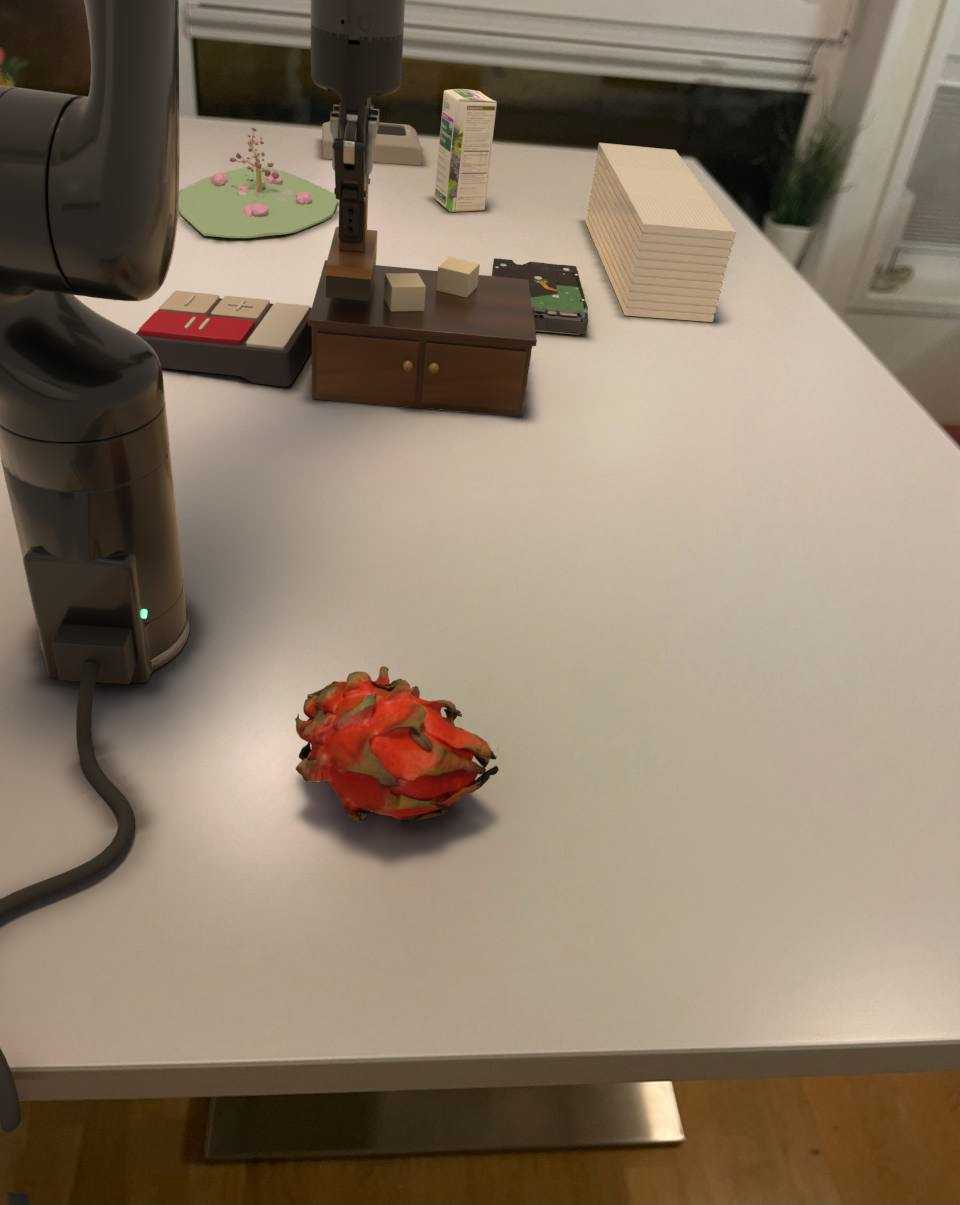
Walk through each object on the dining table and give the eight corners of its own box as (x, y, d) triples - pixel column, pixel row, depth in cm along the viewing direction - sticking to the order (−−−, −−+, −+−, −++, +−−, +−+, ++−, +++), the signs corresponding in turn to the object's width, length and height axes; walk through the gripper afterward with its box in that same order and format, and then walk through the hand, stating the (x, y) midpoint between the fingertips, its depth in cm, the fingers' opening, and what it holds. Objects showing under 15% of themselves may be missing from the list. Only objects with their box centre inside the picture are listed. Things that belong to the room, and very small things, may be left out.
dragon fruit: (286, 771, 62) (471, 836, 62) (250, 805, 54) (464, 880, 53) (330, 640, 62) (517, 705, 61) (301, 654, 53) (517, 729, 53)
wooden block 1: (424, 311, 94) (426, 286, 93) (390, 311, 94) (391, 286, 92) (416, 297, 97) (418, 272, 95) (383, 297, 96) (384, 273, 94)
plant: (331, 249, 126) (332, 173, 120) (160, 235, 123) (153, 157, 118) (339, 186, 145) (341, 118, 140) (192, 173, 143) (187, 104, 137)
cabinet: (525, 422, 96) (537, 343, 91) (307, 403, 95) (307, 322, 90) (518, 352, 108) (528, 279, 103) (324, 334, 107) (325, 259, 102)
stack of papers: (712, 322, 120) (736, 231, 114) (624, 315, 119) (643, 223, 112) (658, 229, 145) (675, 149, 138) (585, 222, 144) (598, 142, 137)
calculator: (171, 285, 103) (316, 300, 102) (177, 326, 106) (318, 340, 105) (129, 329, 95) (287, 345, 94) (137, 371, 97) (290, 387, 97)
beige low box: (322, 115, 160) (417, 123, 162) (322, 140, 162) (415, 147, 164) (323, 132, 152) (422, 140, 155) (323, 158, 155) (421, 165, 157)
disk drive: (489, 280, 124) (495, 329, 112) (491, 257, 122) (498, 305, 110) (572, 287, 125) (588, 337, 113) (576, 264, 123) (592, 312, 111)
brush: (370, 301, 92) (373, 199, 86) (325, 297, 92) (326, 195, 86) (376, 261, 100) (380, 165, 94) (335, 257, 99) (336, 161, 94)
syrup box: (432, 199, 145) (440, 88, 136) (470, 197, 147) (480, 88, 138) (448, 212, 141) (458, 99, 132) (486, 211, 143) (498, 99, 134)
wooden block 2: (466, 298, 98) (469, 273, 96) (435, 290, 99) (437, 266, 97) (477, 287, 100) (480, 263, 99) (447, 280, 101) (449, 256, 99)
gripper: (319, 3, 87) (318, 207, 98) (300, 34, 77) (302, 260, 87) (406, 13, 88) (396, 215, 99) (400, 45, 77) (389, 268, 88)
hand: (352, 235), depth 93 cm, fingers closed on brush, 2 cm apart
